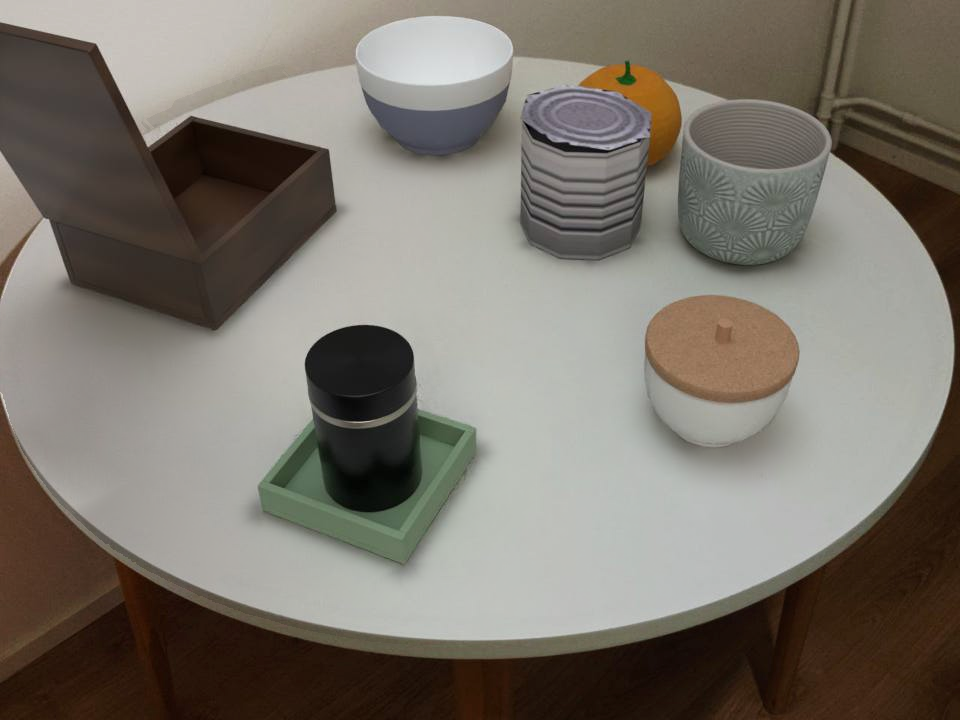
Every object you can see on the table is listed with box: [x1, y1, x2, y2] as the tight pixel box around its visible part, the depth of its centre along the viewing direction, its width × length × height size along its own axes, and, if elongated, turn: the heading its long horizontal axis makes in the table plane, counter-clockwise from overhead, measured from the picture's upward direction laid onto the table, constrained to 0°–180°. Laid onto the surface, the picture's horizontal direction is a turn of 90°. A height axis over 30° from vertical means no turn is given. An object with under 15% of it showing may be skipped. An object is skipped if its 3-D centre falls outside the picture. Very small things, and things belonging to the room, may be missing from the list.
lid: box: [0, 21, 202, 263], centre depth 77 cm, size 20×16×1 cm
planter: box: [677, 98, 833, 266], centre depth 93 cm, size 12×12×11 cm
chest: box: [48, 115, 337, 331], centre depth 95 cm, size 20×16×7 cm
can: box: [519, 84, 651, 261], centre depth 95 cm, size 11×11×12 cm
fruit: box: [577, 60, 683, 167], centre depth 105 cm, size 12×12×10 cm
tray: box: [257, 408, 477, 565], centre depth 74 cm, size 11×11×3 cm
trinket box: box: [643, 294, 800, 448], centre depth 76 cm, size 11×11×9 cm
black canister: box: [304, 324, 422, 512], centre depth 71 cm, size 7×7×11 cm
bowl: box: [354, 15, 515, 156], centre depth 109 cm, size 16×16×10 cm
